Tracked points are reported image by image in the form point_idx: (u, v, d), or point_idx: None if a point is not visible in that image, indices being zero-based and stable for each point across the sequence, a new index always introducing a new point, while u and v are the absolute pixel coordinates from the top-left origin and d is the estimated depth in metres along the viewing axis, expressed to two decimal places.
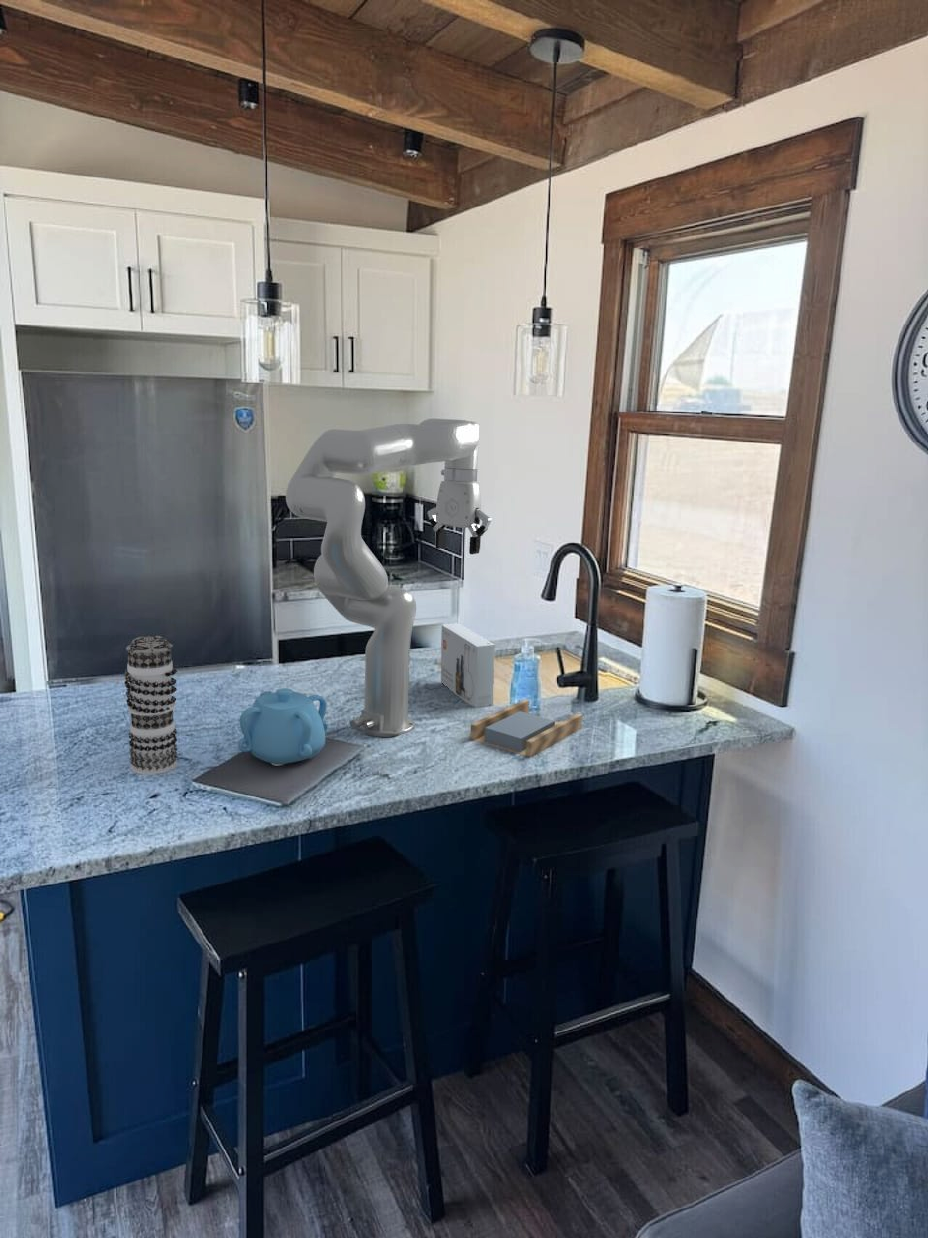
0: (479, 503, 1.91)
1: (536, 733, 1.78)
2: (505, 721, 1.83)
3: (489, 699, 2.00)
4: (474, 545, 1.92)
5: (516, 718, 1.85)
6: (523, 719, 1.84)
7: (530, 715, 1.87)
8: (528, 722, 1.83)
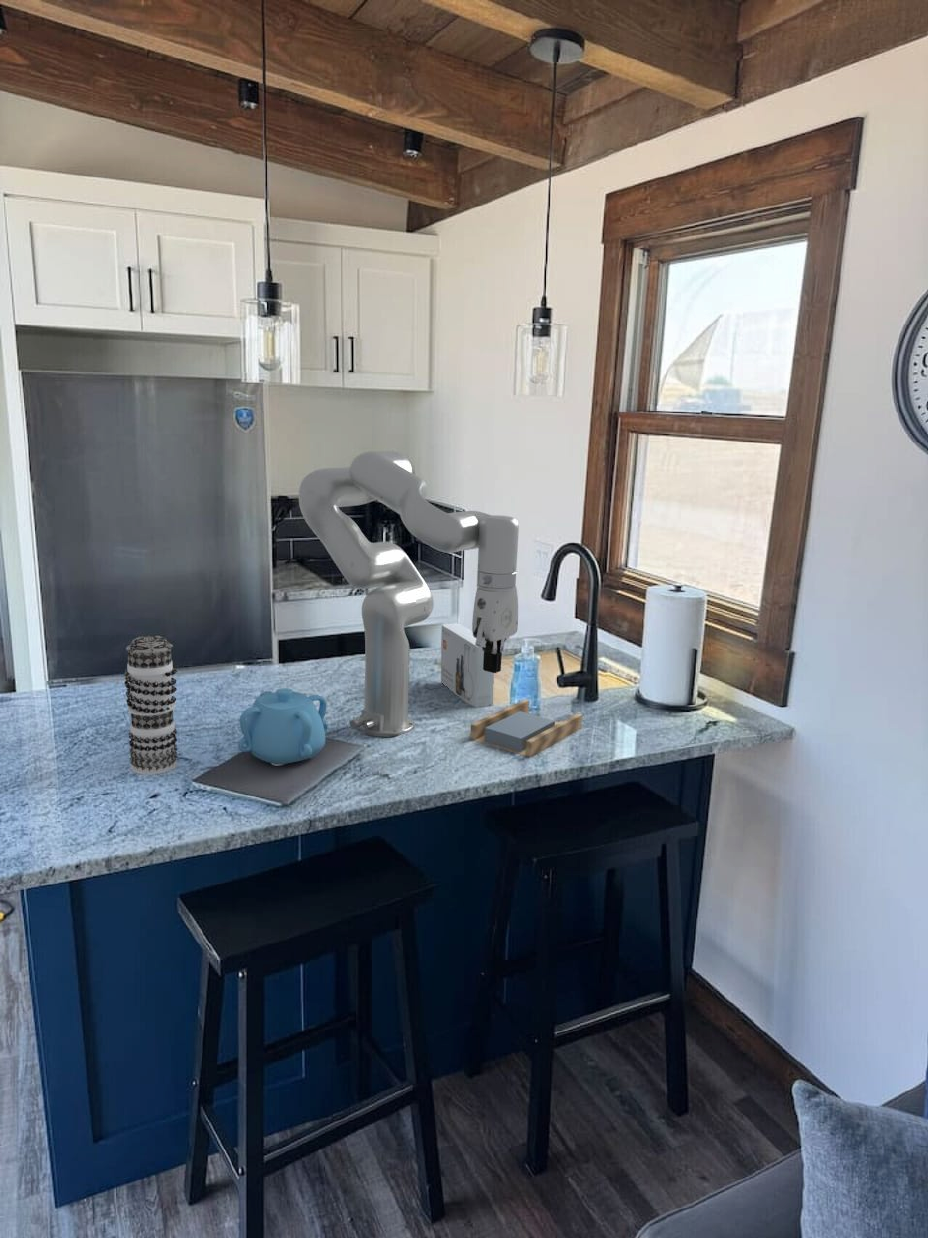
0: None
1: (536, 733, 1.78)
2: (505, 721, 1.83)
3: (489, 699, 2.00)
4: None
5: (516, 718, 1.85)
6: (523, 719, 1.84)
7: (530, 715, 1.87)
8: (528, 722, 1.83)
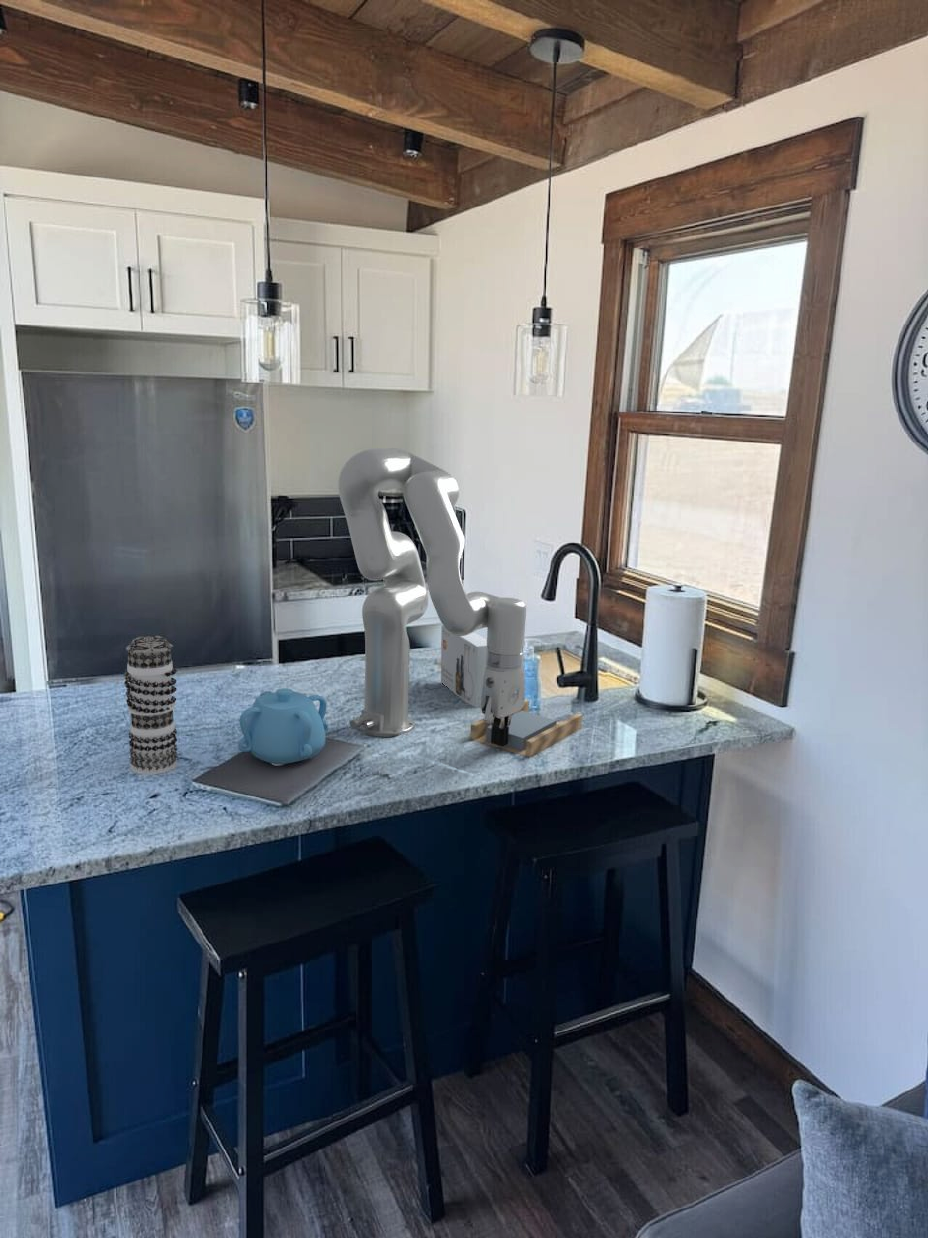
0: None
1: (538, 732, 1.79)
2: None
3: None
4: None
5: (518, 718, 1.85)
6: (525, 719, 1.85)
7: (532, 715, 1.87)
8: (529, 721, 1.83)
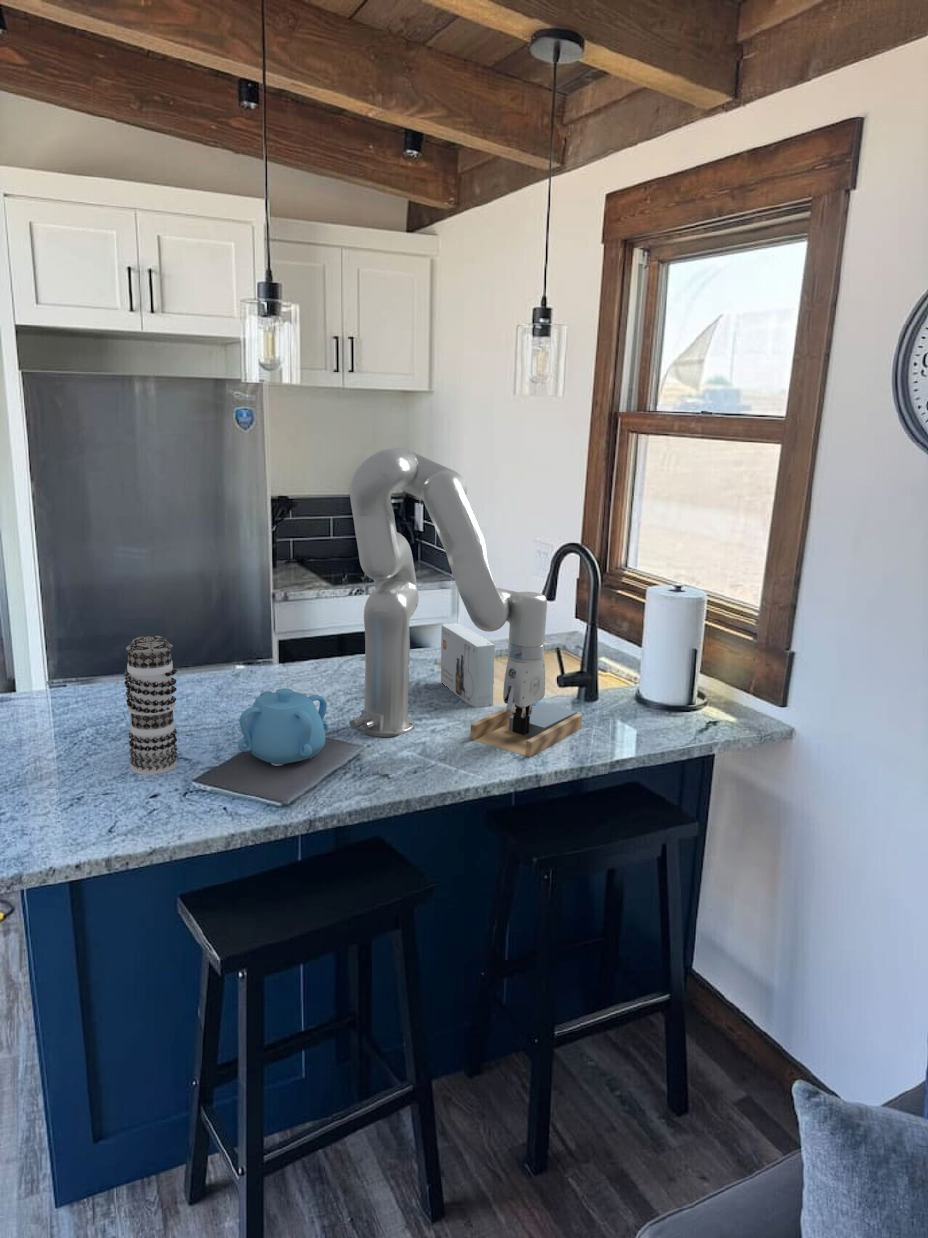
0: None
1: None
2: None
3: (489, 699, 2.00)
4: None
5: (540, 709, 1.91)
6: (546, 710, 1.91)
7: (553, 706, 1.94)
8: (551, 712, 1.89)
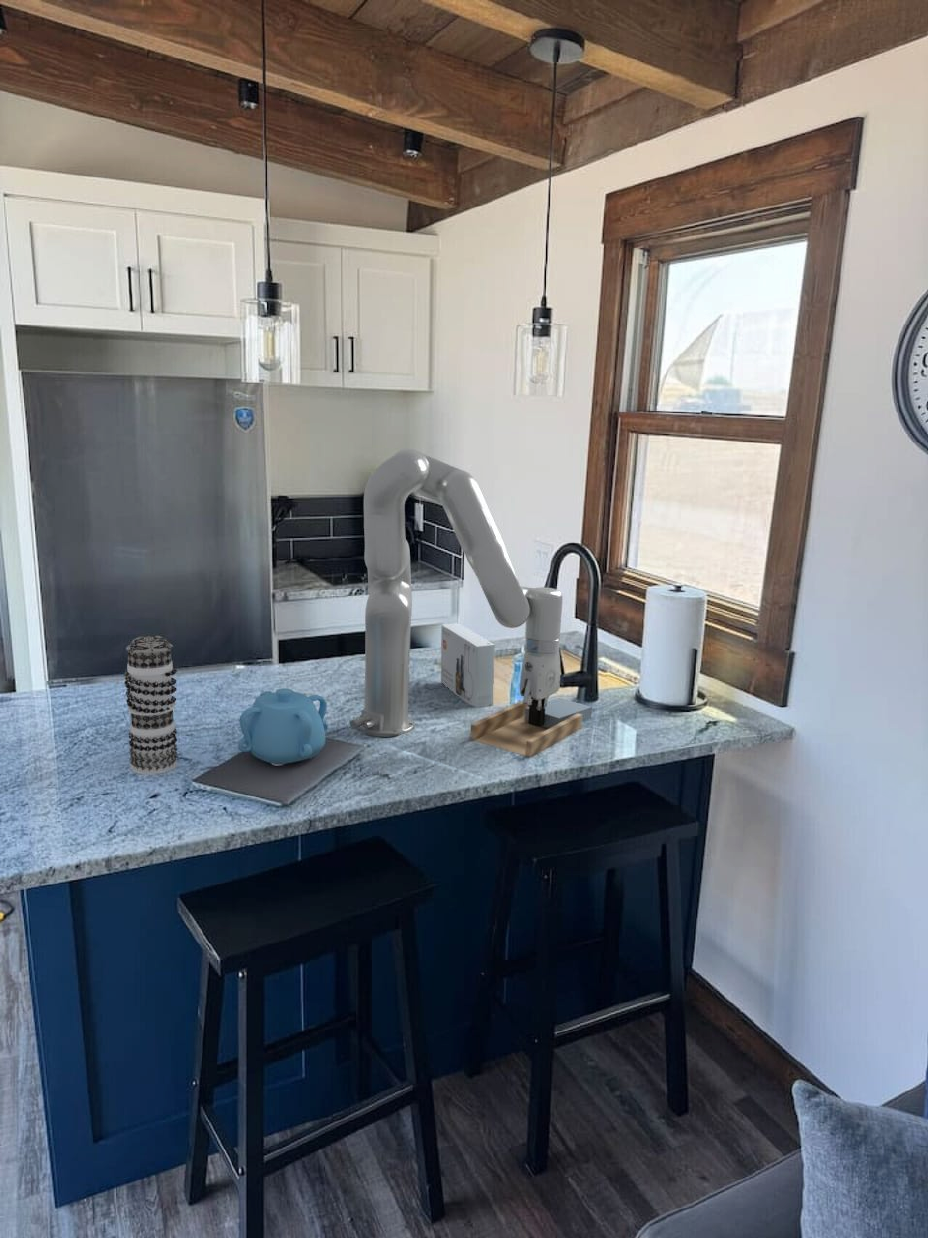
0: None
1: None
2: None
3: (489, 699, 2.00)
4: None
5: (556, 703, 1.97)
6: (562, 704, 1.96)
7: (569, 701, 1.99)
8: (566, 706, 1.95)
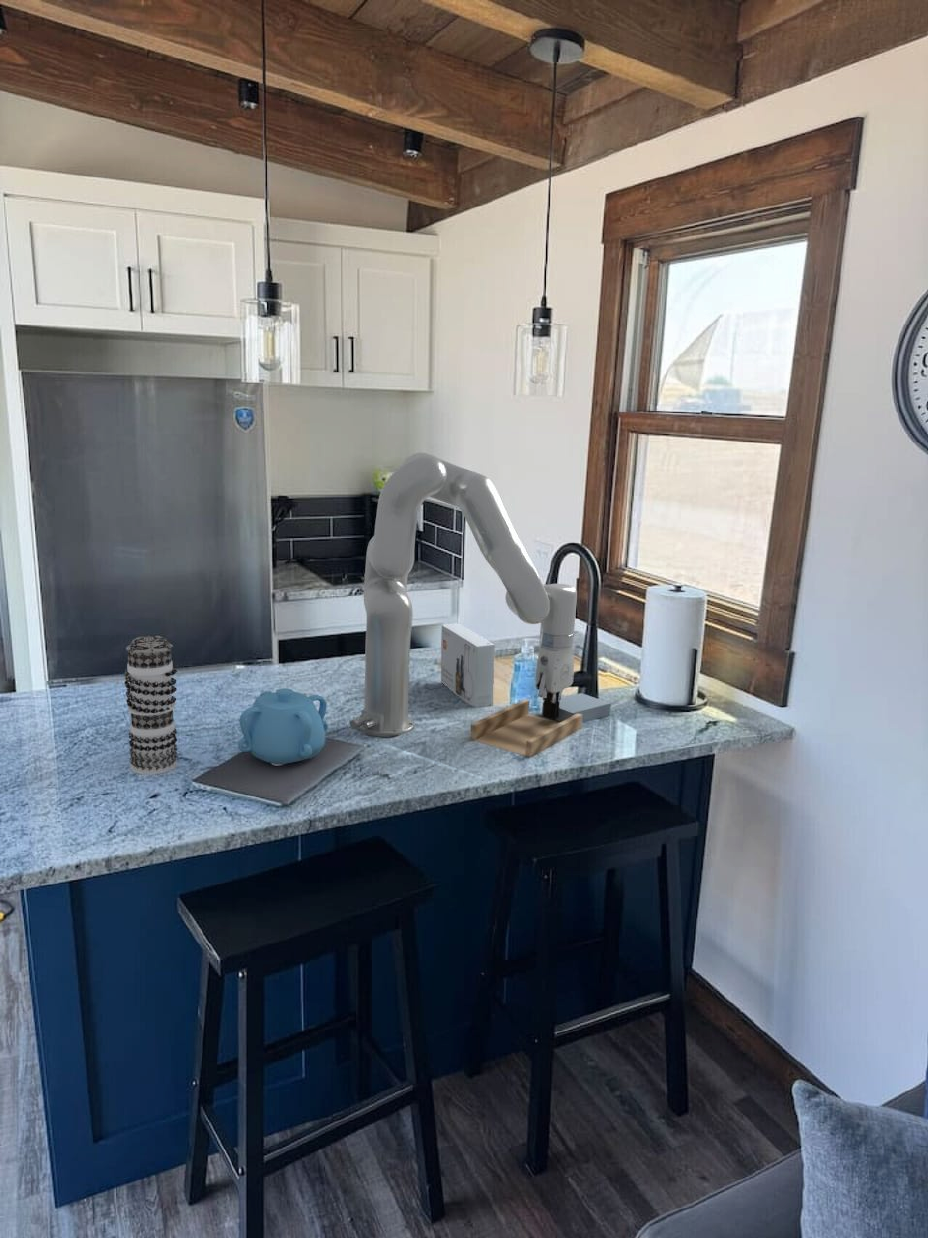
0: None
1: (589, 711, 1.94)
2: (563, 699, 2.00)
3: (489, 699, 2.00)
4: None
5: (575, 698, 2.01)
6: (581, 699, 2.00)
7: (589, 697, 2.03)
8: (584, 702, 1.99)
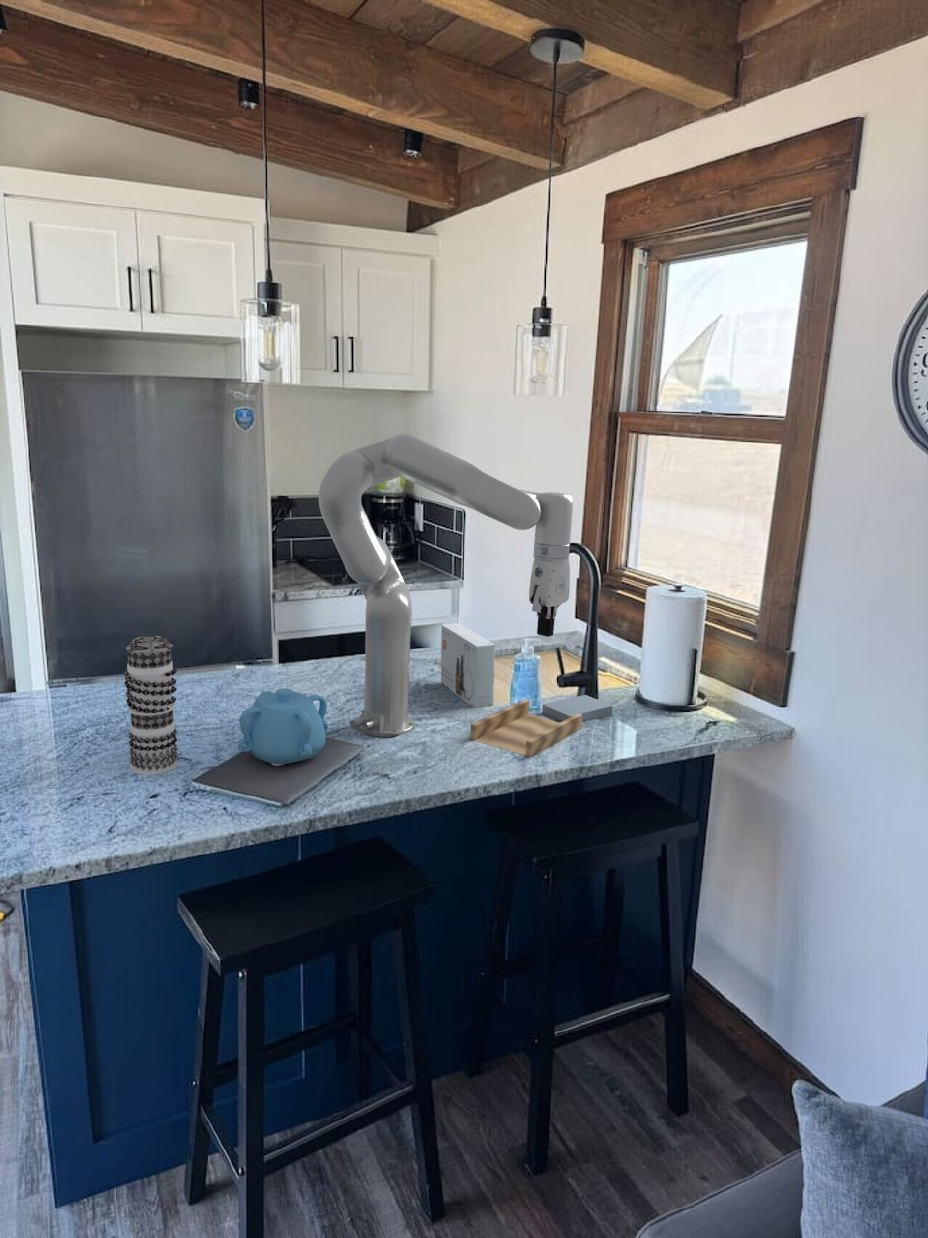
0: None
1: (589, 714, 1.95)
2: (564, 701, 2.01)
3: (489, 699, 2.00)
4: None
5: (577, 700, 2.02)
6: (583, 701, 2.01)
7: (592, 699, 2.03)
8: (586, 704, 1.99)
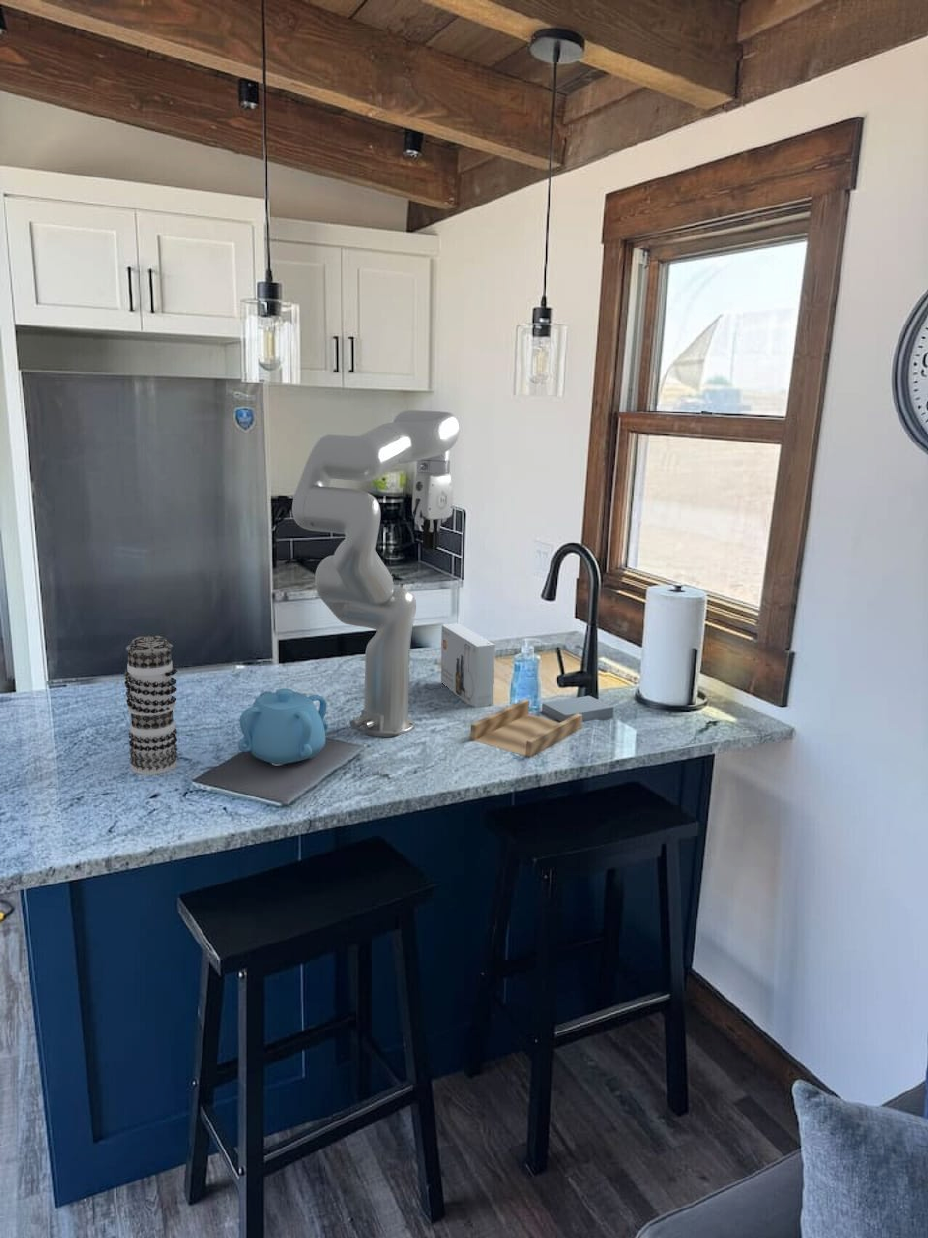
0: None
1: (586, 714, 1.94)
2: (566, 701, 2.01)
3: (489, 699, 2.00)
4: None
5: (579, 700, 2.02)
6: (584, 702, 2.01)
7: (594, 700, 2.03)
8: (586, 704, 1.99)
